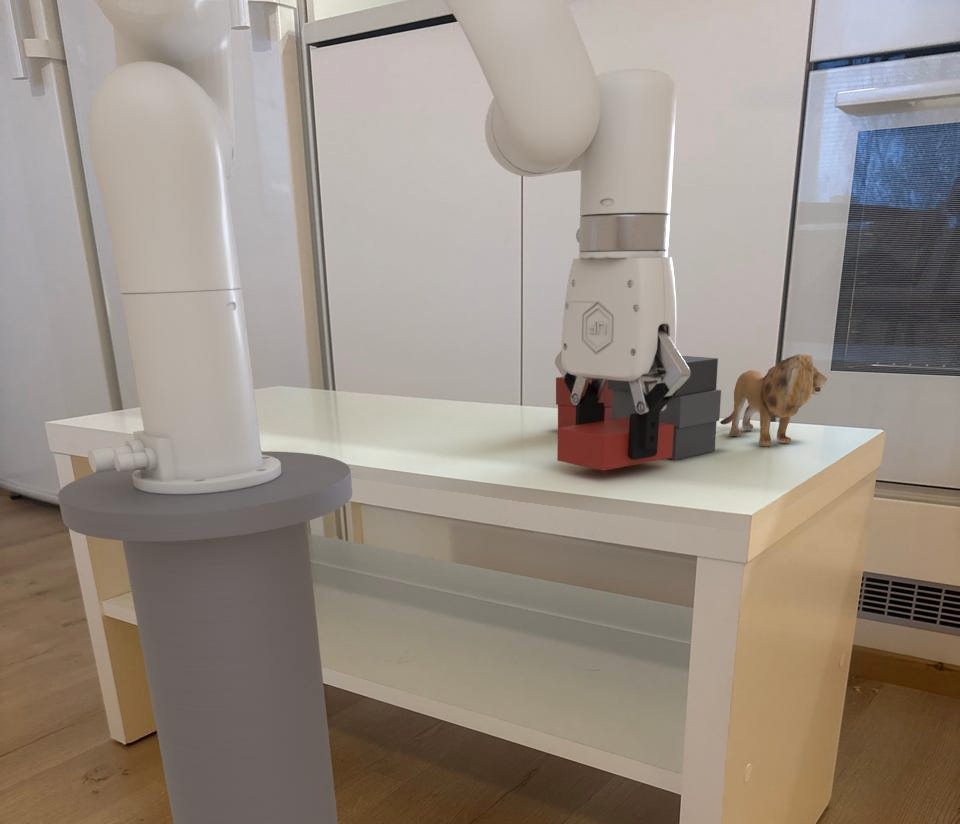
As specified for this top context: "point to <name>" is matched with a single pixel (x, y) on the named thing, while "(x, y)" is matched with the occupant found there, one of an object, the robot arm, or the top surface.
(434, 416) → the top surface
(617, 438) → the red rectangular block
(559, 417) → the red blocks
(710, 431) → the grey blocks
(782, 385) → the lion figurine
